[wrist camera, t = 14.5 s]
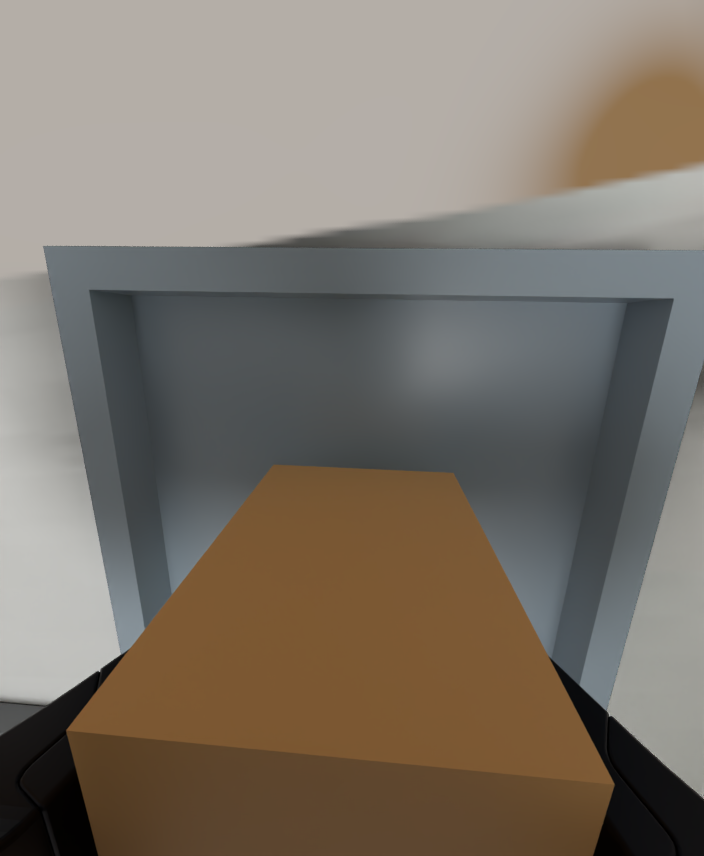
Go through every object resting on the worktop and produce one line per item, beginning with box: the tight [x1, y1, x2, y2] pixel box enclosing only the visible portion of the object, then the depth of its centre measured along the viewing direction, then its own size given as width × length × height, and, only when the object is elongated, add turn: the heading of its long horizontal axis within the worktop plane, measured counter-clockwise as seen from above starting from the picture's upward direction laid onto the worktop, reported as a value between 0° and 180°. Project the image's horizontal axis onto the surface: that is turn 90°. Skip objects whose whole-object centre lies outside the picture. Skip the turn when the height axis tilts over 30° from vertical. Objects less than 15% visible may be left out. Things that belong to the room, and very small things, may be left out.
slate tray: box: [43, 246, 704, 711], centre depth 12 cm, size 16×16×2 cm
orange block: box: [66, 465, 615, 856], centre depth 7 cm, size 5×5×7 cm
